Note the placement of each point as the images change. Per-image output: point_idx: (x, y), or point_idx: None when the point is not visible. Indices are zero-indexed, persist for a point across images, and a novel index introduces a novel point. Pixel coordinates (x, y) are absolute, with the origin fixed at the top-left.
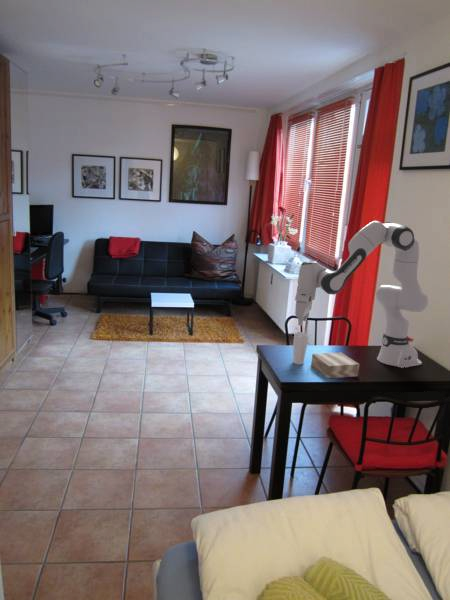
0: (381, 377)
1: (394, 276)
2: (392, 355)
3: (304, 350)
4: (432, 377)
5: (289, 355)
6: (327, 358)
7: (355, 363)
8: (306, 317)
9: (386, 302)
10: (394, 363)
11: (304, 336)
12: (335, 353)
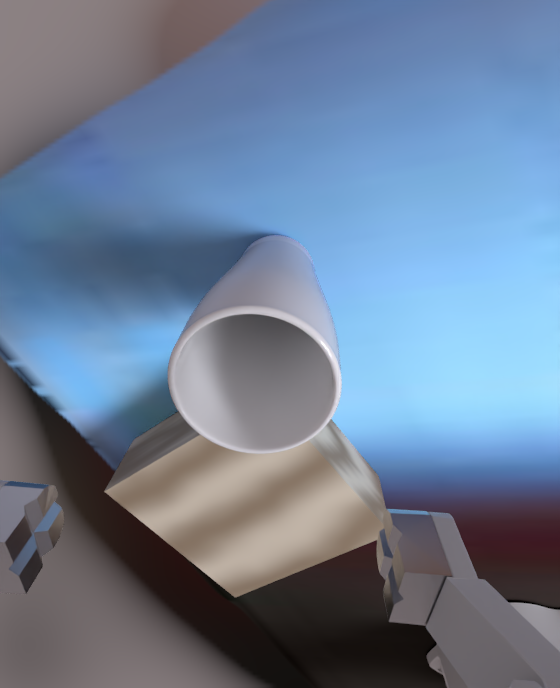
0: (280, 600)
1: None
2: (462, 684)
3: (239, 353)
4: None
5: (421, 180)
6: (230, 477)
7: (233, 584)
8: (420, 621)
9: None
10: (442, 652)
11: (189, 424)
12: (354, 509)
